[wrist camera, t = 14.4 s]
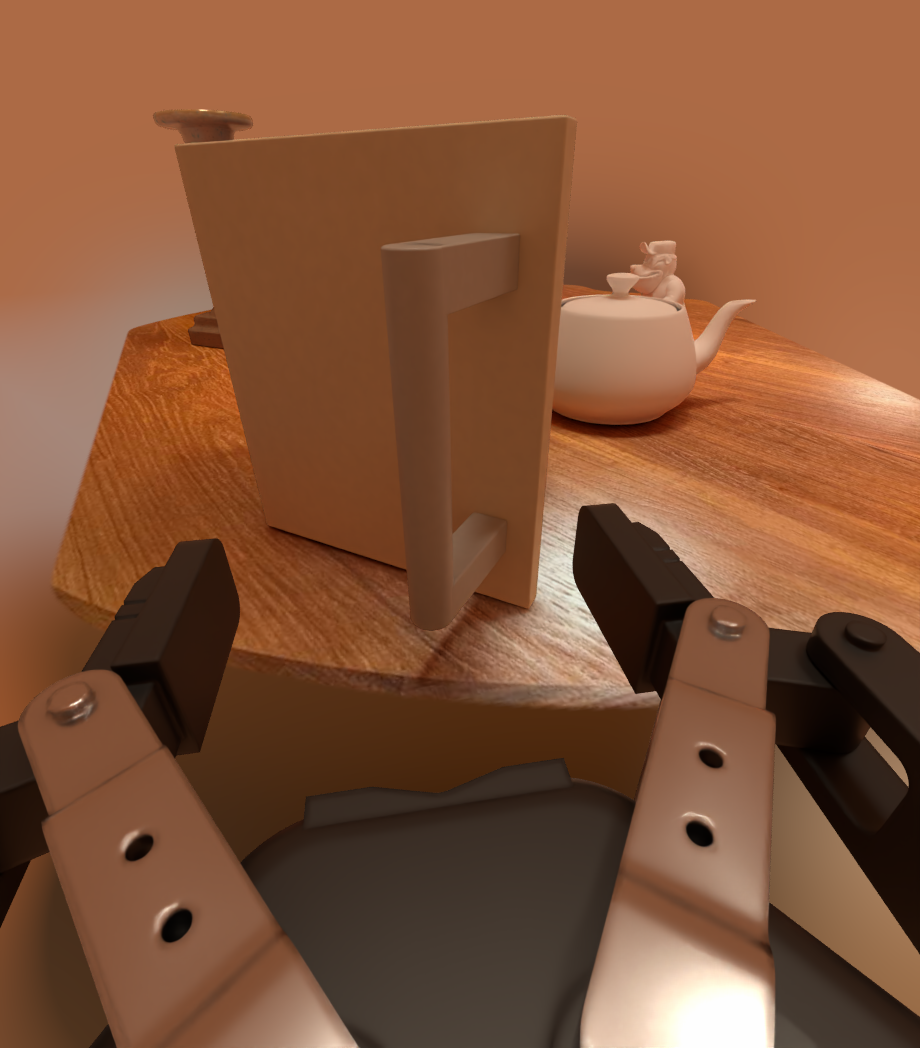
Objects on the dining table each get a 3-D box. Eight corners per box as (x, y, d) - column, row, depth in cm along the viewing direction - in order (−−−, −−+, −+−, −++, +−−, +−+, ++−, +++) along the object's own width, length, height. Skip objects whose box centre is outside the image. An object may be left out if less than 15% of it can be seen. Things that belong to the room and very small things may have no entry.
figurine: (602, 353, 62) (617, 238, 56) (655, 351, 62) (677, 237, 56) (629, 375, 54) (650, 245, 48) (690, 373, 55) (719, 243, 48)
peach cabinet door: (471, 704, 19) (472, 80, 10) (178, 582, 26) (8, 131, 16) (536, 596, 24) (578, 118, 15) (278, 517, 31) (194, 145, 21)
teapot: (506, 445, 40) (512, 291, 34) (478, 389, 51) (478, 267, 45) (776, 427, 42) (825, 280, 36) (691, 378, 53) (717, 260, 48)
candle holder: (252, 352, 64) (199, 105, 52) (189, 344, 68) (124, 113, 56) (310, 333, 73) (276, 117, 60) (250, 327, 77) (207, 123, 64)
